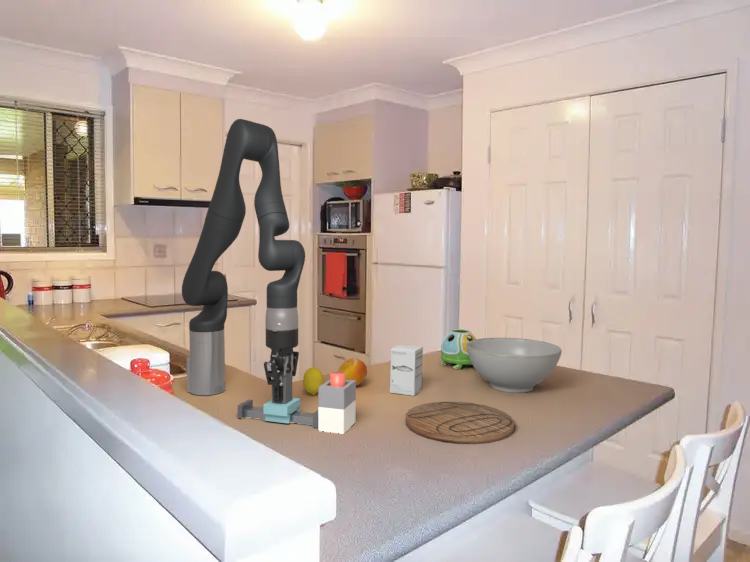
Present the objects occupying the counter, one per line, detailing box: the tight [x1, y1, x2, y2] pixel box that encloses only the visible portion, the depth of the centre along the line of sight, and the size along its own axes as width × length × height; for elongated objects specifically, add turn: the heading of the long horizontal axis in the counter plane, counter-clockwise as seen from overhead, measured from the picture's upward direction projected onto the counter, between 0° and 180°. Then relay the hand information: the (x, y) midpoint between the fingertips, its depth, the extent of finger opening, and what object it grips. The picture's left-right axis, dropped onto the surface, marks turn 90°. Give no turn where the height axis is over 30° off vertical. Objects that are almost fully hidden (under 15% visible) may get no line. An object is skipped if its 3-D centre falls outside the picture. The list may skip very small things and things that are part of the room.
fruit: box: [337, 357, 368, 387], centre depth 160 cm, size 8×9×8 cm
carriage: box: [263, 373, 301, 424], centre depth 130 cm, size 6×7×11 cm
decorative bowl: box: [466, 337, 563, 394], centre depth 161 cm, size 27×27×12 cm
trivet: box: [405, 401, 515, 445], centre depth 129 cm, size 25×25×2 cm
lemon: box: [302, 366, 325, 396], centre depth 151 cm, size 6×6×8 cm
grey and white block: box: [317, 379, 357, 435], centre depth 126 cm, size 6×8×10 cm
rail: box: [237, 399, 318, 429], centre depth 130 cm, size 20×5×3 cm, turn 73°
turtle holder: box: [440, 328, 477, 370], centre depth 186 cm, size 12×18×12 cm
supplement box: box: [389, 344, 424, 397], centre depth 155 cm, size 7×7×13 cm
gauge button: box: [329, 371, 345, 387], centre depth 126 cm, size 3×3×6 cm
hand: (282, 398), depth 130 cm, fingers closed on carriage, 3 cm apart
